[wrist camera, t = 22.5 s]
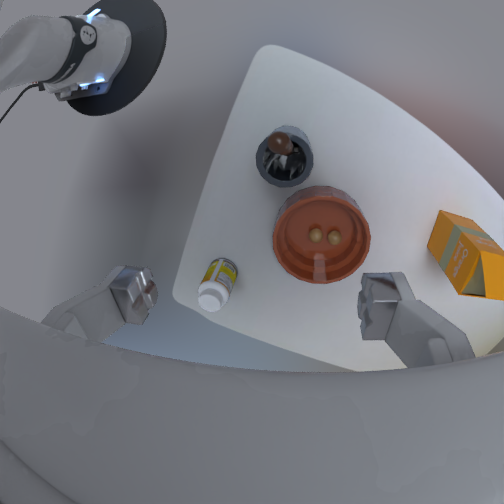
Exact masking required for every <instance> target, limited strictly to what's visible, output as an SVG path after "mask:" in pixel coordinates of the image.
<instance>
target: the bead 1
mask: <svg viewBox="0 0 504 504" xmlns="http://www.w3.org/2000/svg"><path fill="white" fill-rule="evenodd" d="M309 239H310V240H311V241H312V242H313V243H319V242H320V241H321V240H322V239H323V233H322V231H321V230H320V229H312V230H311V231H310V233H309Z"/></svg>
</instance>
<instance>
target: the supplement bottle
mask: <svg viewBox="0 0 504 504" xmlns="http://www.w3.org/2000/svg"><path fill="white" fill-rule="evenodd" d="M236 277H237V269H236V267H235V265H234V264H233V263H232V262H230V261H229V260H226V259H217V260H215V261H213V262H212V263H211V265H210V267H209V268H208V270H207V272H206V274H205V276H204V278H203V280H202V282H201V284H200V286H199V288H198V295H199V299H198V303H199V305H200V307H201V308H202V309H204V310H205V311H208V312H216V311H218V310H219V309H220V308H221V306H223V305H225V304H226V303H227V301H228V299H229V297H230V294H231V291H232V288H233V285H234V282H235V279H236Z"/></svg>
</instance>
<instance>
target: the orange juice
mask: <svg viewBox="0 0 504 504" xmlns="http://www.w3.org/2000/svg"><path fill="white" fill-rule="evenodd" d="M427 247H428V248H429V250H430V251H431V253H432V254H433V256H434V257H435V258H436V260H437V261H438V263H439V265H440V266H441V268H442V270H443V271H444V272H445V274H446V275H447V277H448V278H449V280H450V282H451V283H452V285H453V286H454V288H455V290H456V291H457V293H458V295H464V296H471V297H479V298H487V299H495V300H503V301H504V251H503V250H502V249H501V248H500V247H499V245H498V244H497V243H496V242H495V241H494V240H493V239H492V238H491V237H490V236H489V235H488V234H487V233H486V232H484V231H483V230H482V229H481V228H480V227H479V226H478V225H477V224H476V223H475V222H474V221H473V220H471V219H468V218H465V217H462V216H458V215H455V214H452V213H448V212H445V211H442V210H440V211H439V214H438V217H437V220H436V223H435V226H434V229H433V231H432V234H431V237H430V240H429V242H428V245H427Z"/></svg>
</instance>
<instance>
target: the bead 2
mask: <svg viewBox="0 0 504 504" xmlns="http://www.w3.org/2000/svg"><path fill="white" fill-rule="evenodd" d="M341 240H342V236H341V234H340V232H338V231H331V232H330V233H329V234H328V241H329V243H330V244H332V245H337V244H339V243H340V242H341Z"/></svg>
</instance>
